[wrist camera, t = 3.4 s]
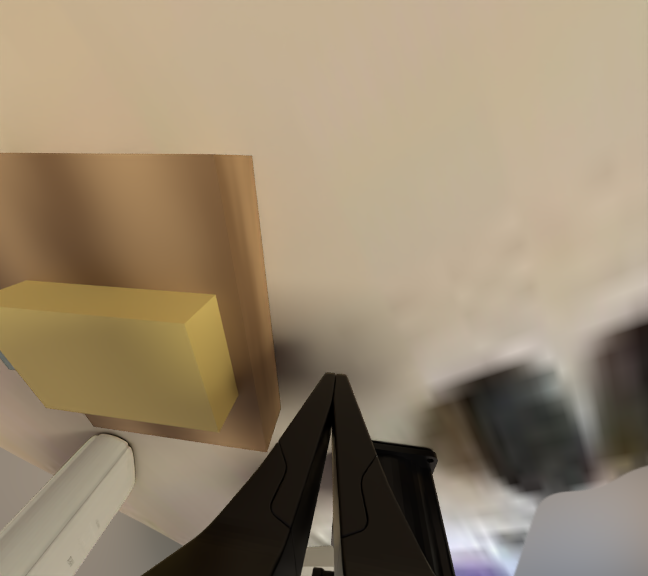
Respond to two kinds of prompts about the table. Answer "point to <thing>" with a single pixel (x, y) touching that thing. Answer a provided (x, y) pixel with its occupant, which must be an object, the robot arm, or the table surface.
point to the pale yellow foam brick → (120, 352)
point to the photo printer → (69, 511)
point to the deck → (152, 254)
